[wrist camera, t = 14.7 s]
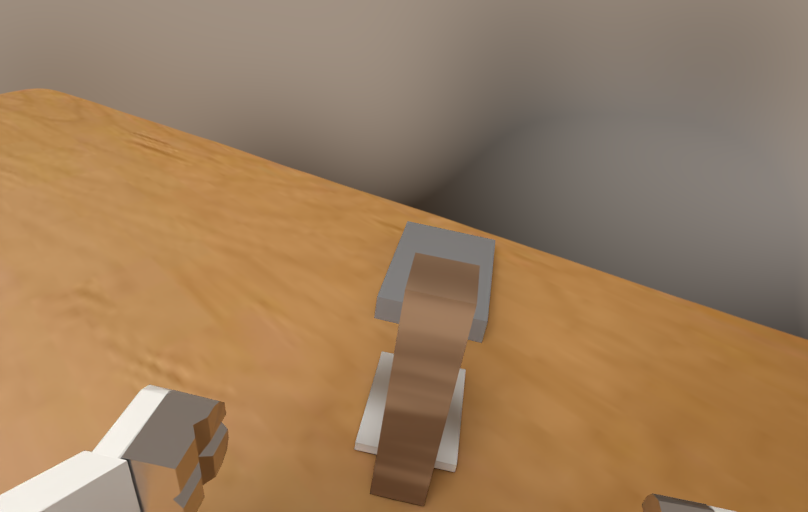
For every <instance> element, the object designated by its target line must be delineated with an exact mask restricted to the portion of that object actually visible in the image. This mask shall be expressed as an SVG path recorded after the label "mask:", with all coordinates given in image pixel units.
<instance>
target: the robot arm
mask: <svg viewBox="0 0 808 512" xmlns="http://www.w3.org/2000/svg"><path fill="white" fill-rule="evenodd" d="M225 415H226V410H225V403H224V402H221V401H217V400H213V399H208V398H204V397H200V396H196V395H192V394H188V393H184V392H180V391H175V390H171V389H167V388H162V387H158V386H153V385H148V386H146V387H145V388H143V389H142V390H140V392H139V393H138V394H137V395H136V397H135V398H134V399H133V400H132V402H131V403H130V404H129V406H128V407H127V408H126V409H125V411H124V412H123V413H122V414H121V416H120V417H119V418H118V419H117V421H116V422H115V423H114V425H113V426H112V427H111V428H110V430H109V431H108V432H107V433H106V435H105V436H104V437H103V438H102V440H101V441H100V442H99V444H98V445H97V446H96V447H95V449H94V450H93V451H92V452H90V451H85V450H84V451H82V452H81V453H79V454H77V455H75V456H73V457H71V458H69V459H67V460H65V461H64V462H62V463H60V464H58V465H56V466H54V467H52V468H50V469H48V470H47V471H45V472H43V473H41V474H39V475H37V476H35V477H33V478H31V479H30V480H28V481H26V482H24V483H22V484H20V485H18V486H16V487H14V488H13V489H11V490H9V491H7V492H5V493H3V494H1V495H0V512H197V511H198V509H199V507H200V505H201V503H202V501H203V499H204V498H205V497H204V490H203V485H204V484H205V483H207V482H208V481H210V480H211V479H213V478H214V477H216V475H217V473H218V471H219V469H220V467H221V465H222V463H223V460H224V457H225V454H226V451H227V446H228V429H227V428H226V427H225V425H224V424H223V423H222V420H223V419H224V417H225ZM642 508H643V512H736V511H732V510H727V509H722V508H718V507H713V506H707V505H706V504H702V503H697V502H692V501H687V500H682V499H677V498H672V497H667V496H662V495H657V494H650V495H648V496H647V497H646V498H645V500H644V502H643V503H642Z"/></svg>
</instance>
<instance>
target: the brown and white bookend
mask: <svg viewBox="0 0 808 512" xmlns="http://www.w3.org/2000/svg"><path fill="white" fill-rule="evenodd" d="M479 272H480V266H479V265H475V264H470V263H465V262H460V261H455V260H450V259H445V258H440V257H435V256H430V255H426V254H421V253H416V252H415V256H414V259H413V263H412V266H411V270H410V274H409V277H408V281H407V284H406V288H405V293H404V299H403V304H402V310H401V316H400V322H399V328H398V334H397V339H396V345H395V351H394V354H392V353H387V352H382V353H381V357H380V360H379V363H378V367H377V370H376V374H375V377H374V381H373V384H372V387H371V391H370V394H369V398H368V401H367V404H366V408H365V411H364V415H363V418H362V422H361V425H360V428H359V432H358V435H357V439H356V442H355V450H359V451H363V452H368V453H372V454H377V456H376V462H375V467H374V473H373V479H372V485H371V491H370V494H374V495H378V496H382V497H387V498H391V499H395V500H400V501H404V502H408V503H412V504H417V505H421V506H424V503H425V499H426V496H427V492H428V488H429V484H430V480H431V477H432V473H433V469H434V468H438V469H442V470H447V471H451V472H455V469H456V466H457V457H458V446H459V435H460V425H461V414H462V403H463V392H464V382H465V371H466V369H461V368H460V367H461V363H462V359H463V355H464V351H465V348H466V344H467V340H468V336H469V332H470V329H471V325H472V321H473V317H474V313H475V310H476V306H477V297H478V284H479Z"/></svg>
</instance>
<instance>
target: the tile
mask: <svg viewBox="0 0 808 512" xmlns="http://www.w3.org/2000/svg"><path fill="white" fill-rule="evenodd" d="M494 249H495V240H492V239H488V238H483V237H478V236H474V235H469V234H464V233H460V232H455V231H450V230H446V229H441V228H437V227H432V226H427V225H423V224H418V223H413V222H409V221H408V222H407V224H406V227H405V229H404V232H403V234H402V237H401V239H400V242H399V244H398V247H397V249H396V252H395V254H394V257H393V259H392V261H391V264H390V266H389V269H388V271H387V274H386V276H385V279H384V281H383V284H382V286H381V289H380V291H379V294H378V296H377V303H376V310H375V317H374V318H376V319H381V320H385V321H389V322H394V323H398V324H399V322H400V316H401V310H402V304H403V299H404V293H405V288H406V284H407V281H408V277H409V274H410V270H411V266H412V263H413V259H414V256H415V252H416V253H421V254H426V255H430V256H435V257H440V258H445V259H450V260H455V261H460V262H465V263H470V264H475V265H479V266H480V272H479V284H478V297H477V306H476V310H475V313H474V317H473V321H472V325H471V329H470V332H469V336H468V340H472V341H476V342H480V343H482V340H483V336H484V333H485V329H486V326H487V322H488V312H489V301H490V291H491V280H492V270H493V259H494Z"/></svg>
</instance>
